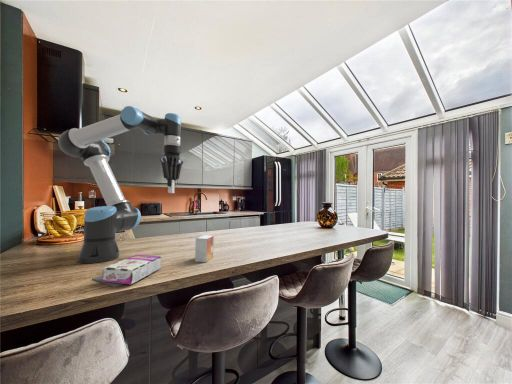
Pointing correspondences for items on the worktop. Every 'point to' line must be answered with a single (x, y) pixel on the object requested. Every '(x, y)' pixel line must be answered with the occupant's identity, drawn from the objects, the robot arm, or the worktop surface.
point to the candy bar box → (131, 269)
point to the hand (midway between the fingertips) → (171, 193)
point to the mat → (108, 282)
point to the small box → (204, 248)
